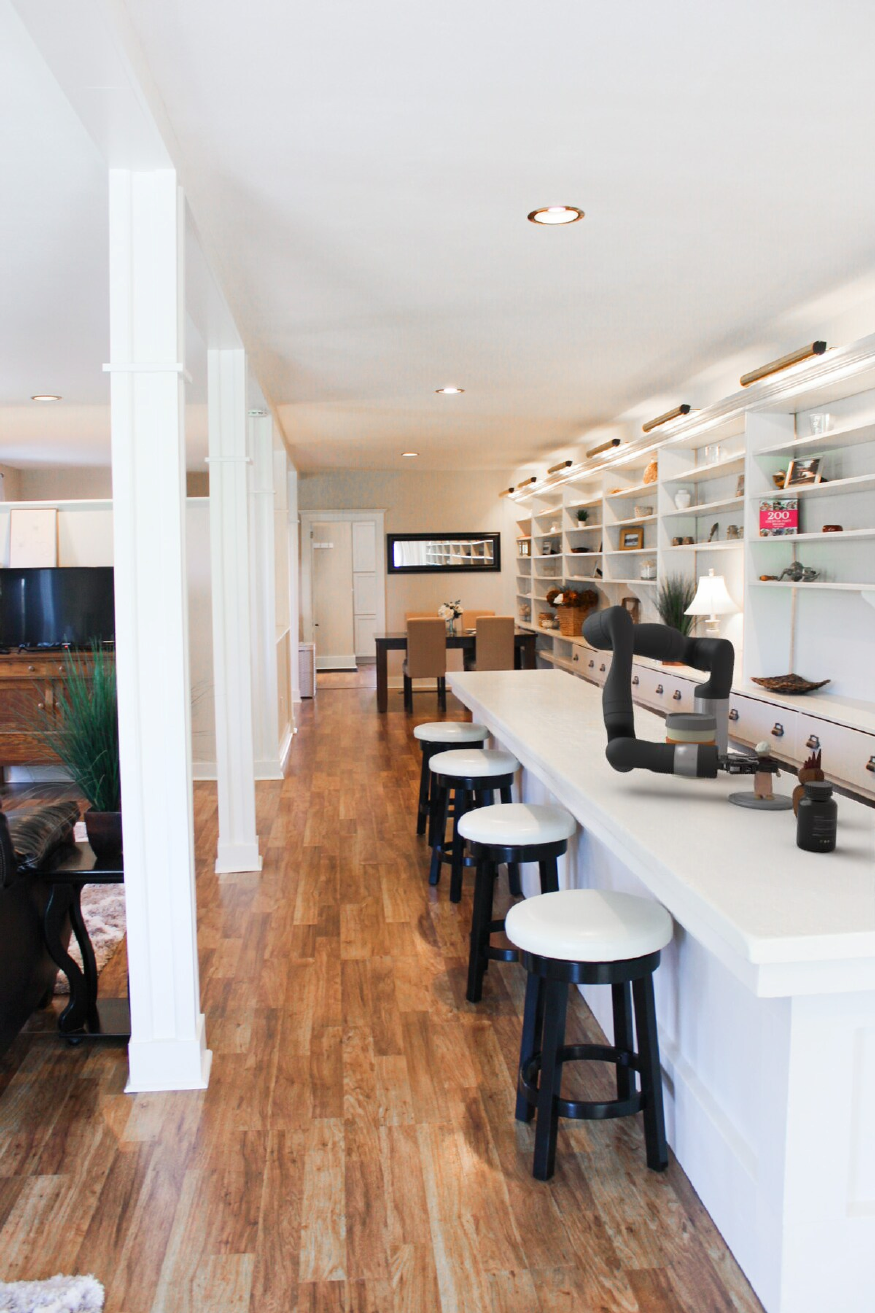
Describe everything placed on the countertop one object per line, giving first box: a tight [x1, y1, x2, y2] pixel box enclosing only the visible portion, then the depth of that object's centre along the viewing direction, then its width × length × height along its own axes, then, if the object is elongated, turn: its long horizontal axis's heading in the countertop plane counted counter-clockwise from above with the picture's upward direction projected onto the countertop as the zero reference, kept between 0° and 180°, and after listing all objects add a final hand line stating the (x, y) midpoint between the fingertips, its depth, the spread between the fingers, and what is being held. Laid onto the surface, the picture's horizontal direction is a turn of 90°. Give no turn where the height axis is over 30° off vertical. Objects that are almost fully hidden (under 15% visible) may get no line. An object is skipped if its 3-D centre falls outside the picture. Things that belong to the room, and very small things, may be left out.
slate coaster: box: [728, 791, 793, 811], centre depth 208 cm, size 14×14×1 cm
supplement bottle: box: [795, 781, 839, 854], centre depth 172 cm, size 7×7×12 cm
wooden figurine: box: [791, 748, 825, 819], centre depth 191 cm, size 7×6×15 cm
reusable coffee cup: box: [664, 711, 717, 780], centre depth 235 cm, size 13×13×15 cm
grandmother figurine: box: [748, 740, 782, 800], centre depth 207 cm, size 8×4×13 cm, turn 73°
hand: (777, 766), depth 206 cm, fingers open, 2 cm apart
